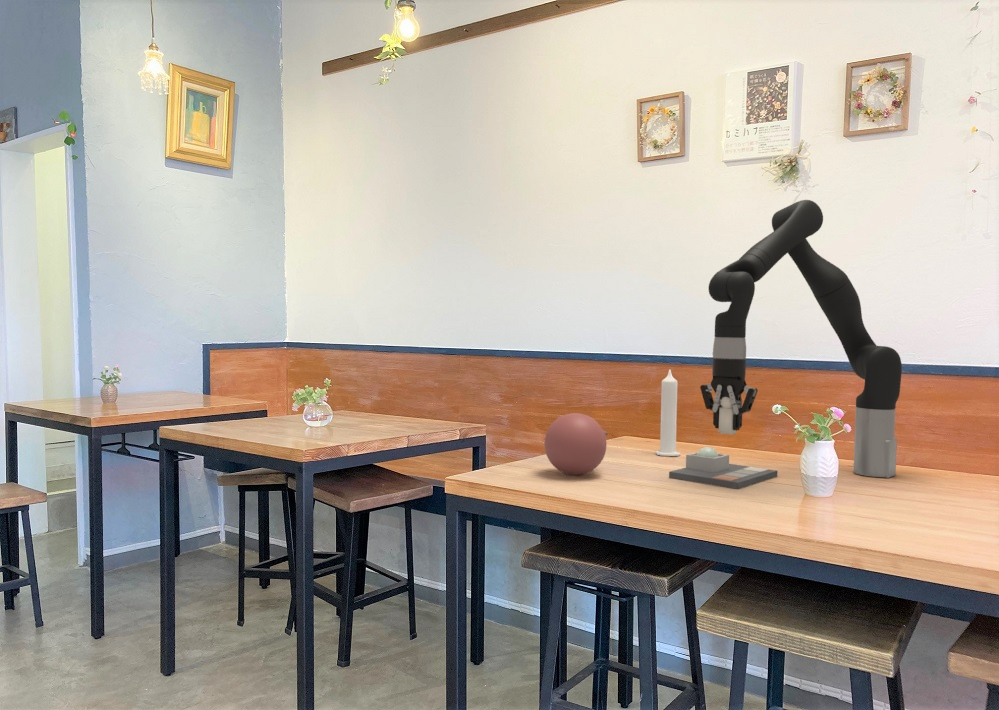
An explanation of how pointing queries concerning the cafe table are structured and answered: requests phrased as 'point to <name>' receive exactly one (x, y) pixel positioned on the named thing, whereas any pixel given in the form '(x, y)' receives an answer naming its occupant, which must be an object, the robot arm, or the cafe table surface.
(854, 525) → the cafe table surface
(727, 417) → the pawn
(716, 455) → the dome
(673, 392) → the candle
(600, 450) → the mauve rubber ball
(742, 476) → the game board
